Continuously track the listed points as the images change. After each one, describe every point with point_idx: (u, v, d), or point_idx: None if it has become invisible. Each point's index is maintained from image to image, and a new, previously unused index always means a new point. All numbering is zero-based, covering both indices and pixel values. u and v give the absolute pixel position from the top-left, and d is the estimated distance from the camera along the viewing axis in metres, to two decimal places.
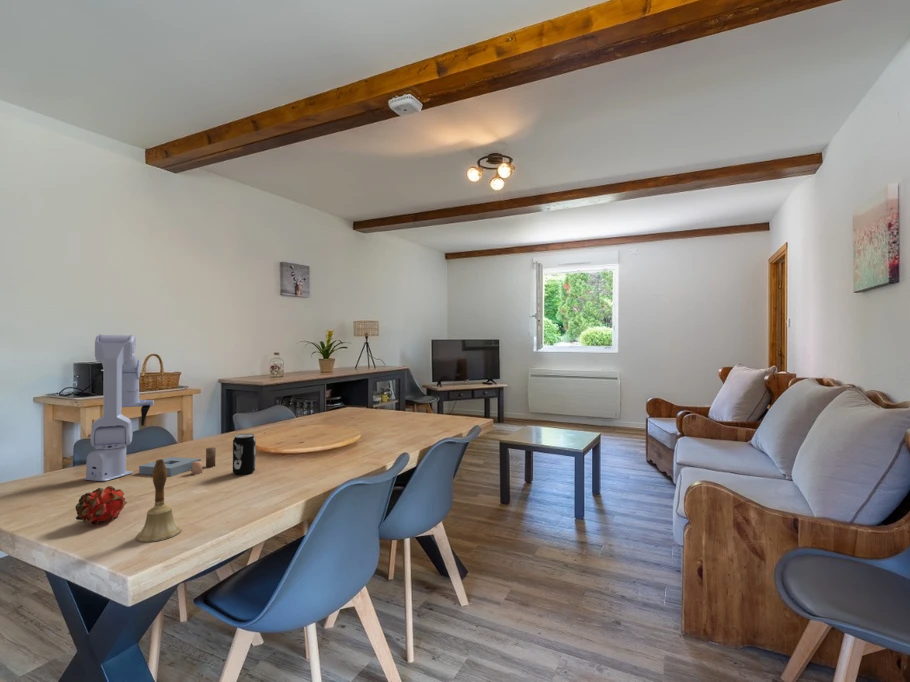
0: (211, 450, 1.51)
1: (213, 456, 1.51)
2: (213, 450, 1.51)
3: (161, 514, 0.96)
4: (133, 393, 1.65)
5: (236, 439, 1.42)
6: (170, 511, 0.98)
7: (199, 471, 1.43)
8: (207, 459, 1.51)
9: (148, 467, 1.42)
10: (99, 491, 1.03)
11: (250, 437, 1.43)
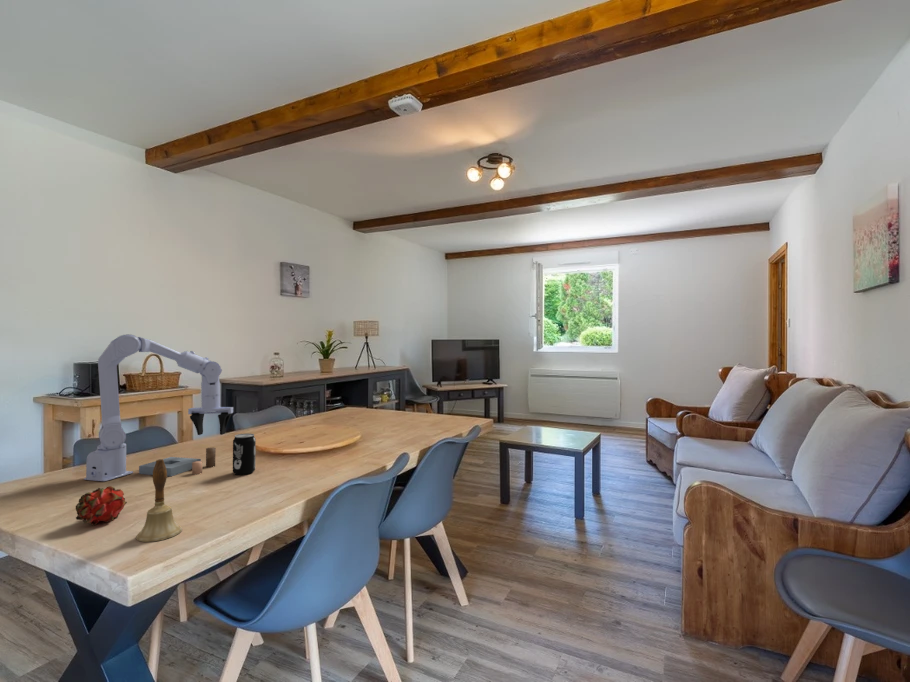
0: (211, 450, 1.51)
1: (213, 456, 1.51)
2: (213, 450, 1.51)
3: (161, 514, 0.96)
4: (211, 398, 1.56)
5: (236, 439, 1.42)
6: (170, 511, 0.98)
7: (199, 471, 1.43)
8: (207, 459, 1.51)
9: (148, 467, 1.42)
10: (99, 491, 1.03)
11: (250, 437, 1.43)
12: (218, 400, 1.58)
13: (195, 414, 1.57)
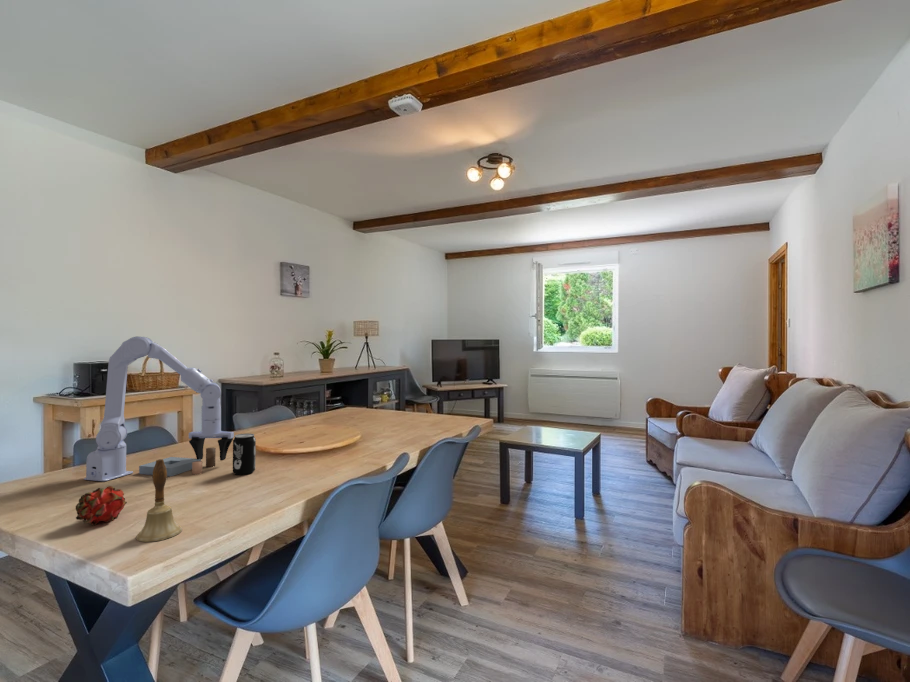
0: (211, 450, 1.51)
1: (213, 456, 1.51)
2: (213, 450, 1.51)
3: (161, 514, 0.96)
4: (211, 422, 1.50)
5: (236, 439, 1.42)
6: (170, 511, 0.98)
7: (199, 471, 1.43)
8: (207, 459, 1.51)
9: (148, 467, 1.42)
10: (99, 491, 1.03)
11: (250, 437, 1.43)
12: (218, 424, 1.52)
13: (195, 438, 1.51)
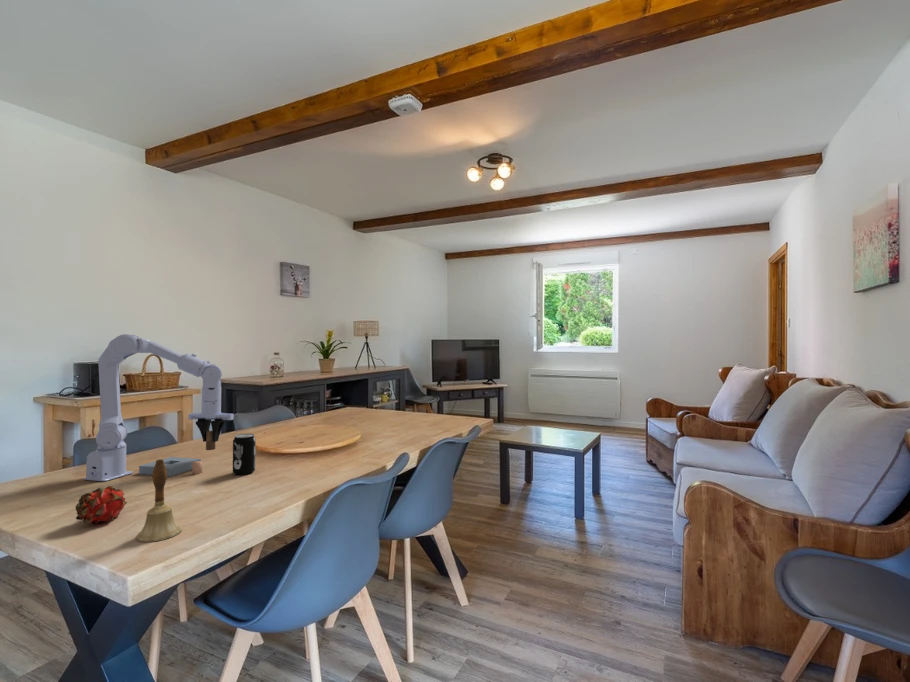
0: (211, 433, 1.51)
1: None
2: None
3: (161, 514, 0.96)
4: (211, 403, 1.50)
5: (236, 439, 1.42)
6: (170, 511, 0.98)
7: (199, 471, 1.43)
8: (207, 442, 1.51)
9: (148, 467, 1.42)
10: (99, 491, 1.03)
11: (250, 437, 1.43)
12: (218, 406, 1.52)
13: None
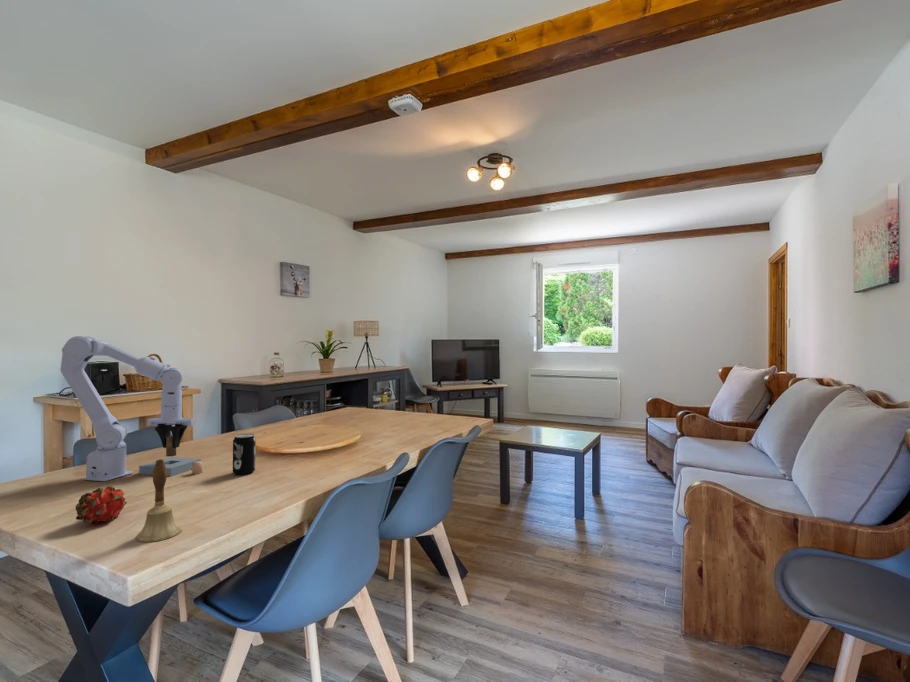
0: (171, 438, 1.46)
1: None
2: None
3: (161, 514, 0.96)
4: (170, 408, 1.45)
5: (236, 439, 1.42)
6: (170, 511, 0.98)
7: (199, 471, 1.43)
8: (167, 448, 1.46)
9: (148, 467, 1.42)
10: (99, 491, 1.03)
11: (250, 437, 1.43)
12: (179, 411, 1.47)
13: None
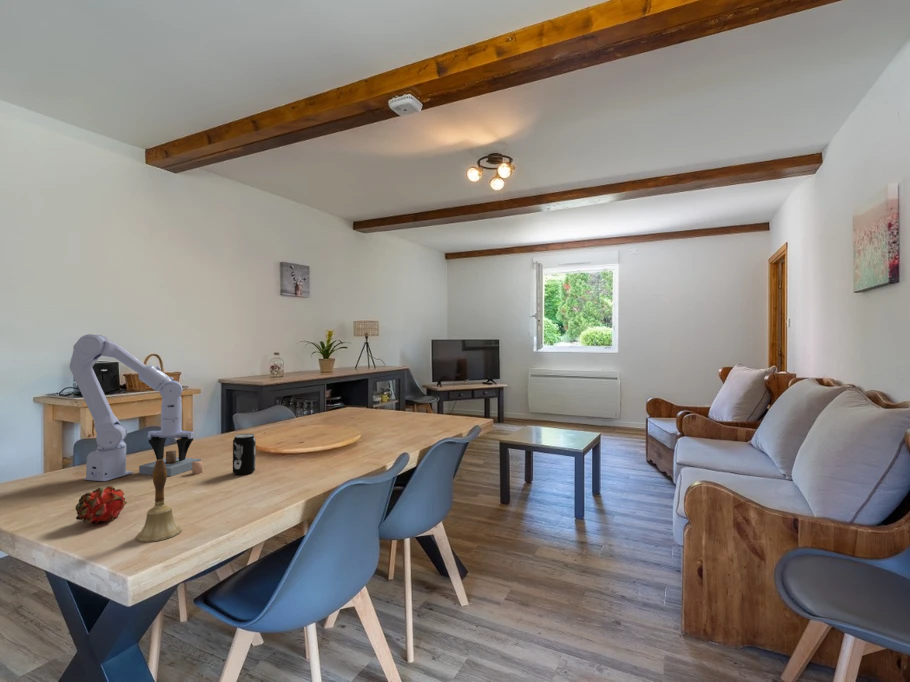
0: (171, 453, 1.46)
1: (173, 459, 1.47)
2: (173, 453, 1.47)
3: (161, 514, 0.96)
4: (170, 421, 1.45)
5: (236, 439, 1.42)
6: (170, 511, 0.98)
7: (199, 471, 1.43)
8: (167, 463, 1.46)
9: (148, 467, 1.42)
10: (99, 491, 1.03)
11: (250, 437, 1.43)
12: (179, 424, 1.47)
13: (154, 438, 1.47)
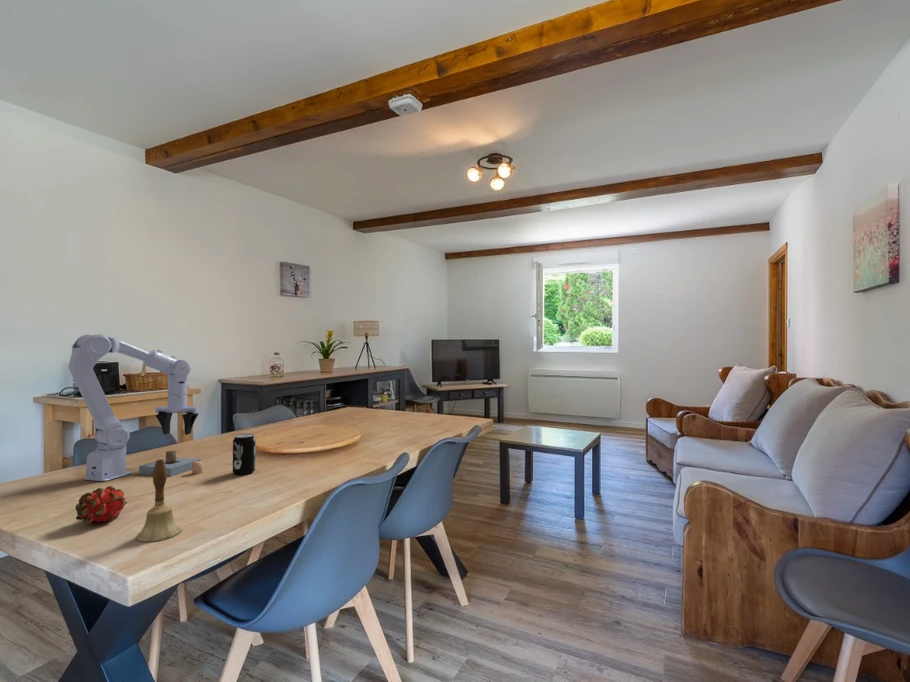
0: (171, 453, 1.46)
1: (173, 459, 1.47)
2: (173, 453, 1.47)
3: (161, 514, 0.96)
4: (176, 397, 1.54)
5: (236, 439, 1.42)
6: (170, 511, 0.98)
7: (199, 471, 1.43)
8: (167, 463, 1.46)
9: (148, 467, 1.42)
10: (99, 491, 1.03)
11: (250, 437, 1.43)
12: (184, 399, 1.56)
13: (162, 413, 1.55)
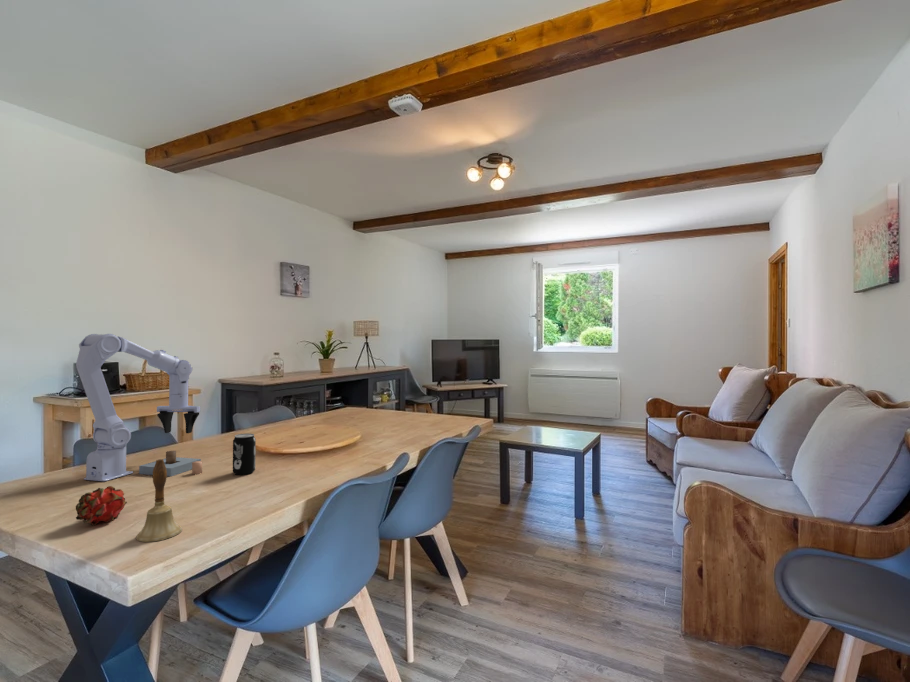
0: (171, 453, 1.46)
1: (173, 459, 1.47)
2: (173, 453, 1.47)
3: (161, 514, 0.96)
4: (178, 396, 1.56)
5: (236, 439, 1.42)
6: (170, 511, 0.98)
7: (199, 471, 1.43)
8: (167, 463, 1.46)
9: (148, 467, 1.42)
10: (99, 491, 1.03)
11: (250, 437, 1.43)
12: (185, 399, 1.58)
13: (163, 412, 1.58)
